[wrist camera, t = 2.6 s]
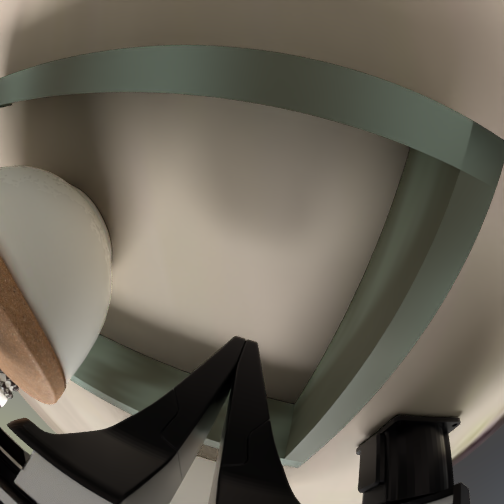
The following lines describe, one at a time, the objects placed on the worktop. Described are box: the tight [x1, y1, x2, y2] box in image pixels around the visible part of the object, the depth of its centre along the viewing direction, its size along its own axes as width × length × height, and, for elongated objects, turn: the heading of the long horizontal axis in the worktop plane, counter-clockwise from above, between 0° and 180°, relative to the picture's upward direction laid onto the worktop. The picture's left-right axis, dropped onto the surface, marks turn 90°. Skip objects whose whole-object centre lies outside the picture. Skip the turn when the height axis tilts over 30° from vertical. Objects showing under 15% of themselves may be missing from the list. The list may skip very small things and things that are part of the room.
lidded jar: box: [0, 166, 112, 404], centre depth 10 cm, size 11×11×9 cm
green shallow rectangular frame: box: [0, 45, 504, 468], centre depth 11 cm, size 24×18×5 cm
